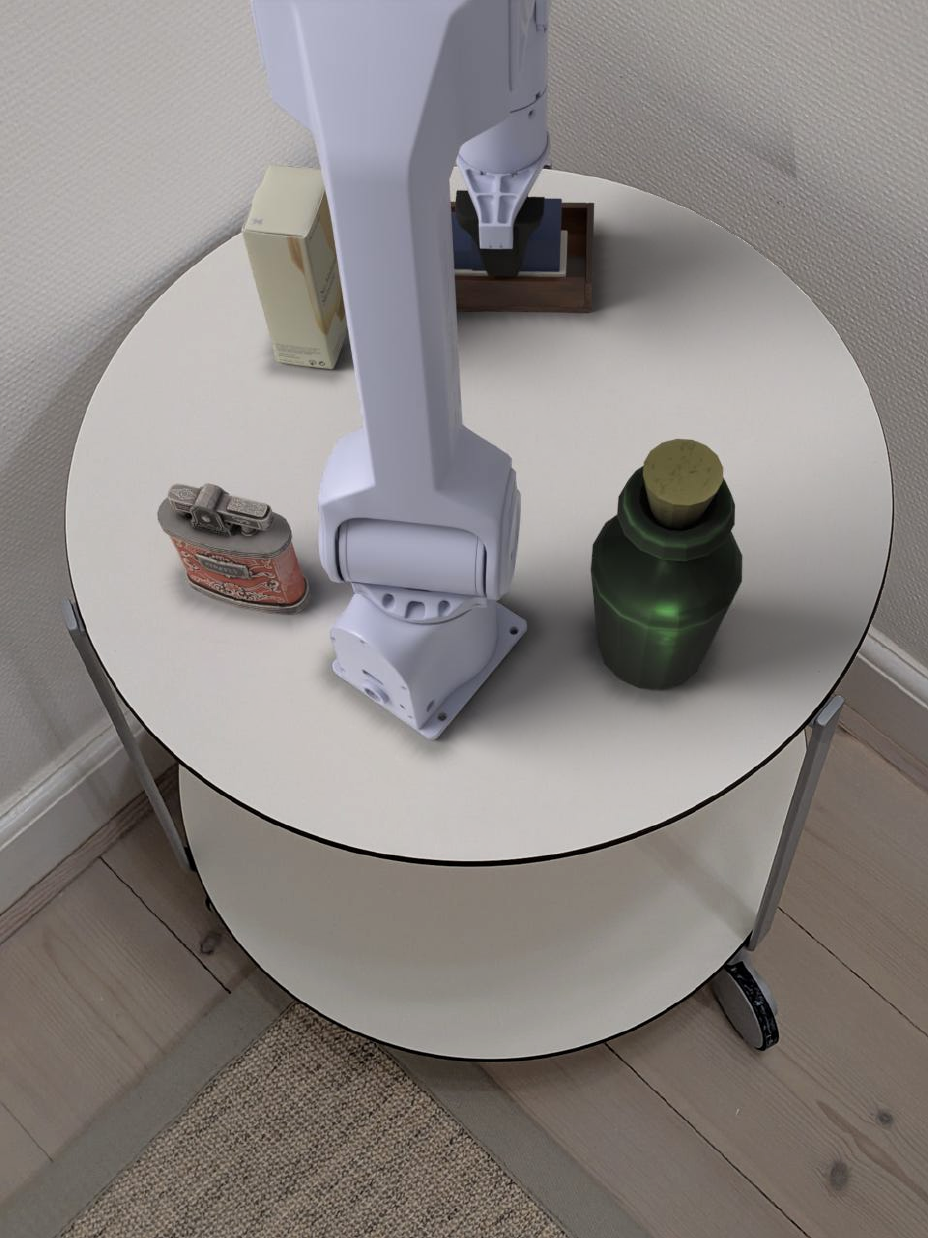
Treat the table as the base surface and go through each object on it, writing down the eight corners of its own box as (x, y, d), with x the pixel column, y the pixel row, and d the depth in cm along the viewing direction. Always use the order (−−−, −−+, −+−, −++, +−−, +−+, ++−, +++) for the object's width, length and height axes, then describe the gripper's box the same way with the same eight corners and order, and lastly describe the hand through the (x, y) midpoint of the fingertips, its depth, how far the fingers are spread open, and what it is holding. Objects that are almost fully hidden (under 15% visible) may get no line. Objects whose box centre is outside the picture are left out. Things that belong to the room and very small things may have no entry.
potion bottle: (666, 730, 72) (703, 576, 56) (556, 651, 75) (562, 482, 59) (747, 633, 75) (804, 459, 59) (638, 560, 77) (664, 375, 61)
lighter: (180, 593, 78) (134, 506, 69) (201, 548, 79) (159, 457, 71) (299, 623, 76) (269, 538, 68) (318, 577, 78) (290, 488, 69)
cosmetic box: (334, 372, 86) (306, 241, 75) (274, 364, 86) (237, 233, 75) (357, 301, 88) (332, 166, 78) (298, 294, 89) (266, 159, 78)
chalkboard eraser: (567, 242, 88) (568, 196, 84) (565, 285, 86) (567, 240, 82) (447, 241, 88) (443, 195, 84) (443, 283, 86) (439, 239, 83)
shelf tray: (592, 233, 90) (594, 202, 88) (590, 312, 87) (592, 282, 84) (422, 231, 91) (418, 200, 89) (413, 309, 88) (410, 279, 85)
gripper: (441, 1, 77) (454, 172, 89) (423, 167, 71) (439, 328, 83) (554, 0, 77) (552, 173, 89) (546, 168, 70) (545, 330, 82)
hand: (504, 248), depth 86 cm, fingers closed on chalkboard eraser, 4 cm apart
